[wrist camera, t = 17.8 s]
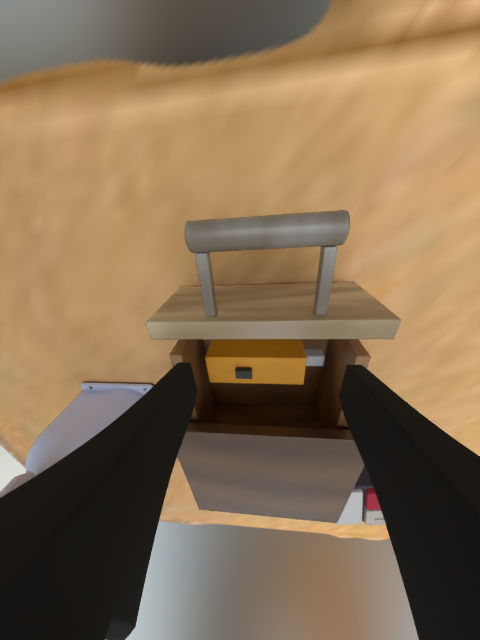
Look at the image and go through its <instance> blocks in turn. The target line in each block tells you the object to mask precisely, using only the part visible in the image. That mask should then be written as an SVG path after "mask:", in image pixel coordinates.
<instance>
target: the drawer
mask: <svg viewBox="0 0 480 640" xmlns="http://www.w3.org/2000/svg"><path fill="white" fill-rule="evenodd" d="M349 228H350V216H349V213H348V211H346V210H339V211H325V212H311V213H297V214H283V215H268V216H254V217H240V218H226V219H212V220H198V221H188V222H186V224H185V240H186V244H187V247H188V249H189V251H190V252H192V253H196V254H195V257H196V263H197V269H198V275H199V280H200V286H197V287H180V288H179V289H178V290H177V291H176V292H175V293H174V294H173V295H172V296H171V297H170V298H169V299H168V300H167V301H166V302H165V303H164V304H163V305H162V306H161V307H160V308H159V309H158V310H157V311H156V312H155V313H154V314H153V315H152V316H151V317H150V318H149V319H148V320H147V321H146V326H147V328H148V331H149V334H150V337H151V339H179V340H178V342H177V344H176V345H175V347H174V348H173V350H172V352H171V353H170V358H171V362H172V365H173V367H174V366H175V365H176V364H177V363H178V362H190V363H191V367H192V371H193V375H194V379H195V383H196V387H197V391H198V392H197V397H196V401H195V406H194V410H193V413H192V416H191V419H190V422H198V423H220V424H241V425H262V426H283V427H304V428H325V429H346V430H347V428H348V425H347V422H346V420H345V417H344V413H343V410H342V407H341V403H340V399H339V393H340V389H341V385H342V381H343V377H344V374H345V370H346V366H347V365H362V366H364V367H365V368H366V369H367V367H368V364H369V361H370V358H371V356H370V355H369V353H368V352H367V351H366V349H365V348H364V347H363V345H362V344H361V342H360V341H359V340H358V339H394V338H395V335H396V332H397V330H398V327H399V324H400V322H401V319H400V318H399V317H397V316H396V315H395V314H394V313H392V312H391V311H390V310H389V309H387V308H386V307H385V306H384V305H382V304H381V303H380V302H379V301H378V300H376V299H375V298H374V297H373V296H371V295H370V294H369V293H368V292H366V291H365V290H364V289H363V288H361V287H360V286H359V285H358V284H356V283H355V282H354V281H353V282H332V279H333V273H334V267H335V261H336V255H337V249H338V247H337V246H336V245H342V244H344V242H345V241H346V239H347V236H348V233H349ZM317 246H321V252H320V260H319V268H318V276H317V283H290V284H259V285H228V286H214V283H213V276H212V268H211V261H210V254H209V252H220V251H240V250H259V249H278V248H298V247H317ZM212 339H301V341H302V344H303V347H304V349H321V350H322V351H323V354H324V356H325V358H324V364H323V366H306V369H305V377H304V384H303V385H296V384H254V383H212V382H210V381H209V376H208V371H207V365H206V360H205V356H206V353H207V350H208V348H209V345H210V342H211V340H212Z"/></svg>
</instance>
